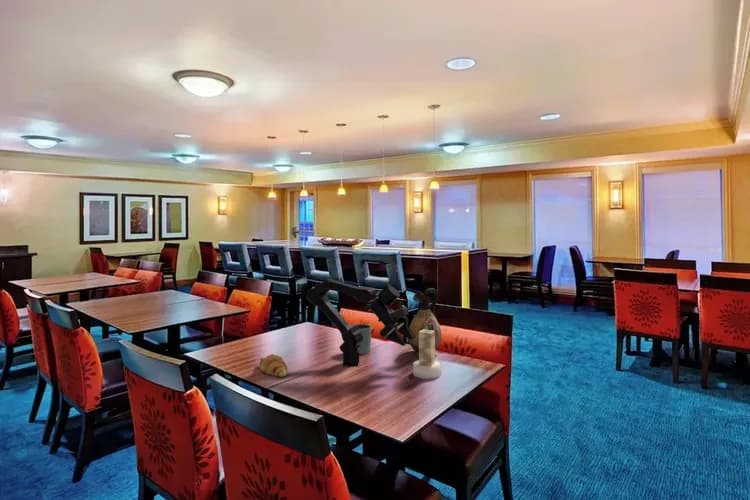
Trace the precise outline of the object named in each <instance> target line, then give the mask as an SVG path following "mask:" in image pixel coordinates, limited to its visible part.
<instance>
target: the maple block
mask: <svg viewBox="0 0 750 500" xmlns="http://www.w3.org/2000/svg"><path fill="white" fill-rule="evenodd" d="M418 360H419V365H422V366H430V367H432V366H433V365H434V363H435V361H436V349H435V330H424V329H423V330H421V331H420V332H419V355H418Z"/></svg>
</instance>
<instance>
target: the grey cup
mask: <svg viewBox="0 0 750 500" xmlns="http://www.w3.org/2000/svg"><path fill="white" fill-rule="evenodd" d="M351 326H352V327H354V326H357V327H358V329H359V330H360V331H361V332H362V335H363V342H362V343H361V344H360V347H359V348H358V352H359V355H366V354H367V355H368V354H370V353H371V349H372V347H371V343H372V325H371V324H367V323H359V324H358V323H357V324H352V325H351Z"/></svg>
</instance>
